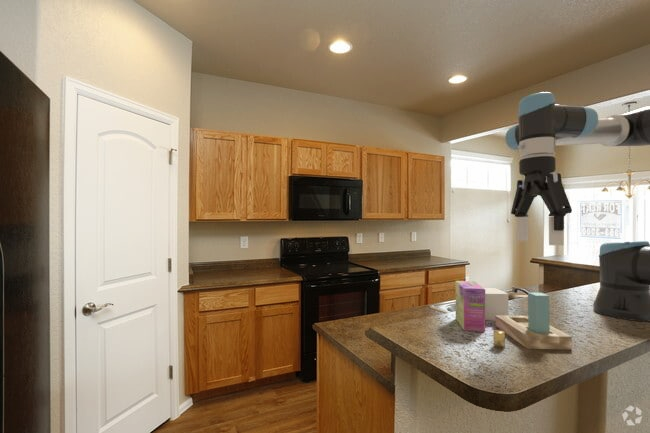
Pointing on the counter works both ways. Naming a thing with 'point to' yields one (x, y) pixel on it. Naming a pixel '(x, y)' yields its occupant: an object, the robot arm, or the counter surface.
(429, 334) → the counter surface
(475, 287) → the box
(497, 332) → the stub
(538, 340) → the socket board
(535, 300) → the peg
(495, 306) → the white cube
